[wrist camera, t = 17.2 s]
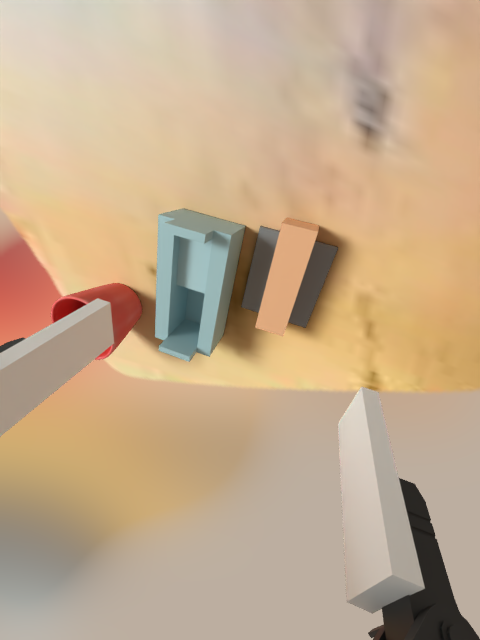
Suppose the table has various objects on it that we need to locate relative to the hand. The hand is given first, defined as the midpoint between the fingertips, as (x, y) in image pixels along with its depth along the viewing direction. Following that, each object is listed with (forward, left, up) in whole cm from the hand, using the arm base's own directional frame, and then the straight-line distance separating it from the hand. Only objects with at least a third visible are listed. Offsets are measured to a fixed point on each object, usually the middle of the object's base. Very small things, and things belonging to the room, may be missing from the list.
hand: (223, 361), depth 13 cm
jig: (+8, -10, -25) cm, 28 cm away
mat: (+4, +1, -25) cm, 25 cm away
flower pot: (+17, -25, -25) cm, 39 cm away
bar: (+3, +1, -24) cm, 24 cm away
